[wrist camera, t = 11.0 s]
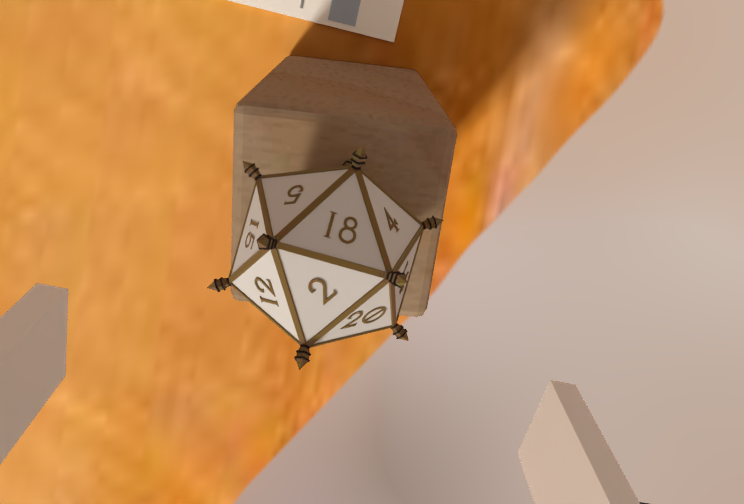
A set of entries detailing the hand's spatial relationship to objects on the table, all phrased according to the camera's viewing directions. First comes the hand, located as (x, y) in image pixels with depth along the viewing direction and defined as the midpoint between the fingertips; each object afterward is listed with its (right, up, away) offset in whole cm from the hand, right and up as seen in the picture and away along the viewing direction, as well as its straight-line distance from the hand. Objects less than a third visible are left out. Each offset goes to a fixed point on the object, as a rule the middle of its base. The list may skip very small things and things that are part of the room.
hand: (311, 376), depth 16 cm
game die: (0, +5, +12) cm, 13 cm away
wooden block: (0, +13, +30) cm, 33 cm away
